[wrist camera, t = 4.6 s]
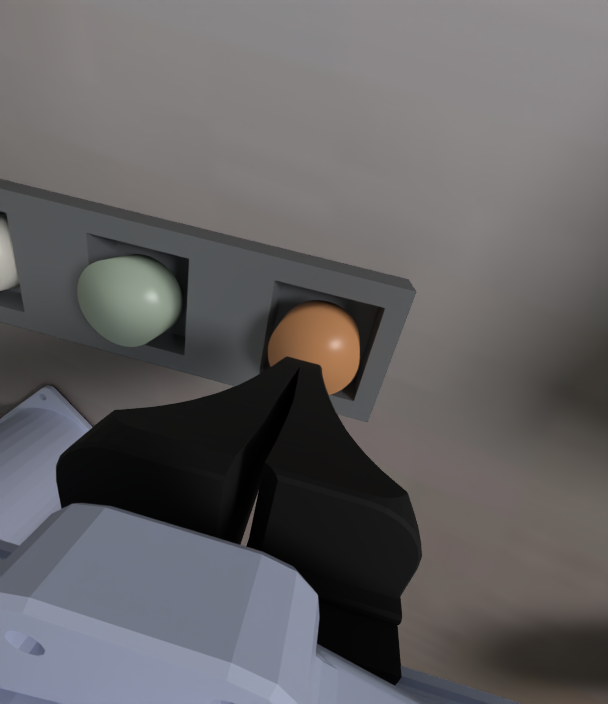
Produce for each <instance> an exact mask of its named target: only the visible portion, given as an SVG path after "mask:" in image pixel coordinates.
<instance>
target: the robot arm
mask: <svg viewBox="0 0 608 704" xmlns="http://www.w3.org/2000/svg"><path fill="white" fill-rule="evenodd" d="M258 490H259V492H258ZM257 493H258V497H257V502H256V507H255V512H254V517H253V522H252V527H251V531H250V536H249V540H248V543H247V546H246V547H245V546H242V545H240V544H241V541H242V538H243V535H244V532H245V529H246V526H247V523H248V520H249V517H250V514H251V511H252V508H253V505H254V502H255V499H256V496H257ZM421 558H422V551H421V540H420V535H419V529H418V525H417V521H416V518H415V514H414V511H413V508H412V505H411V502H410V498H409V495H408V493H407V492H406V491H405V490H404V489H403V488H402V487H401V486H399V485H398V484H397V483H396V482H395V481H393V480H392V479H391V478H390V477H389V476H388V475H386V474H385V473H384V472H383V471H382V470H381V469H380V468H379V467H378V466H377V465H376V464H375V463H374V462H373V461H372V460H371V459H370V458H369V457H368V456H367V455H366V454H365V453H364V452H363V451H362V450H361V448H360V447H359V446H358V445H357V443H356V442H355V441H354V440H353V438H352V437H351V436H350V435H349V433H348V432H347V430H346V429H345V427H344V426H343V424H342V422H341V421H340V419H339V417H338V415H337V413H336V411H335V409H334V407H333V405H332V402H331V400H330V398H329V395H328V392H327V389H326V386H325V383H324V379H323V374H322V368H321V366H320V365H318V364H315V363H311V362H307V361H303V360H299V359H295V358H292V357H288V356H287V357H285V358H283V359H281V360H280V361H279V362H277V363H276V364H274V365H273V366H271V367H270V368H268V369H267V370H265V371H263V372H262V373H260V374H258V375H257V376H255V377H253V378H251V379H249V380H247V381H245V382H243V383H242V384H239V385H237V386H235V387H232V388H230V389H227V390H224V391H222V392H219V393H216V394H212V395H209V396H205V397H202V398H198V399H194V400H190V401H186V402H181V403H175V404H169V405H163V406H156V407H146V408H135V409H124V410H114V411H113V412H111V413H110V414H109V415H107V416H106V417H105V418H104V419H102V420H101V421H100V422H98V423H97V424H96V425H95V426H94V427H92V426H91V425H90V424H89V423H88V422H87V421H86V420H85V419H84V418H83V417H82V415H81V414H80V413H79V412H78V411H77V410H76V409H75V408H74V407H73V406H72V405H71V404H70V403H69V402H68V401H67V400H66V399H65V398H64V397H63V396H62V395H61V394H60V393H59V392H58V391H57V390H56V389H55V388H54V387H53V386H50V385H47V386H45V387H43V388H41V389H40V390H39V391H37V392H36V393H35V394H33V395H32V396H31V397H29V398H28V399H26V400H25V401H24V402H22V403H21V404H20V405H18V406H17V407H16V408H14V409H13V410H11V411H10V412H9V413H7V414H6V415H5V416H3V417H2V418H1V419H0V704H522V703H519V702H515V701H512V700H509V699H506V698H503V697H500V696H496V695H493V694H490V693H487V692H484V691H480V690H477V689H474V688H471V687H468V686H465V685H461V684H458V683H455V682H452V681H449V680H445V679H442V678H439V677H436V676H433V675H430V674H426V673H423V672H420V671H417V670H414V669H410V668H407V667H404V666H401V662H400V650H399V639H398V627H397V625H399V624H400V623H401V620H402V610H401V599H400V596H401V595H402V593H403V591H404V590H405V588H406V586H407V585H408V583H409V582H410V580H411V578H412V577H413V575H414V573H415V572H416V570H417V569H418V566H419V563H420V560H421Z"/></svg>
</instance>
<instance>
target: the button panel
mask: <svg viewBox="0 0 608 704" xmlns="http://www.w3.org/2000/svg"><path fill="white" fill-rule="evenodd" d="M0 213H2V214H4V215H6V216H7V220H8V225H9V230H10V236H11V241H12V247H13V252H14V257H15V263H16V268H17V274H18V279H19V284H20V287H16V288H11V289H7V290H3V291H0V322H2V323H5V324H9V325H13V326H16V327H20V328H24V329H27V330H31V331H35V332H38V333H42V334H46V335H49V336H53V337H57V338H60V339H64V340H68V341H71V342H75V343H79V344H82V345H86V346H90V347H93V348H97V349H101V350H104V351H108V352H112V353H115V354H119V355H123V356H126V357H130V358H134V359H137V360H141V361H145V362H148V363H152V364H156V365H159V366H163V367H167V368H170V369H174V370H178V371H181V372H185V373H189V374H192V375H196V376H200V377H203V378H207V379H211V380H214V381H218V382H222V383H225V384H229V385H233V386H237V385H239V384H242V383H243V382H245V381H247V380H249V379H251V378H253V377H255V376H257V375H258V374H260V373H262V372H263V371H265V370H267V369H268V368H270V367H271V366H270V363H269V359H268V345H269V341H270V338H271V336H272V334H273V332H274V331H275V329H276V328H277V326H278V325H279V323H280V322H281V321H282V319H283V318H284V316H285V315H286V314H287V313H288V311H290V310H291V309H292V308H293V307H295V306H296V305H298V304H300V303H303V302H305V301H310V300H324V301H329V302H332V303H335V304H337V305H339V306H340V307H342V308H343V309H345V310H346V311H347V312H348V313H349V314H350V315H351V316H352V318H353V319H354V321H355V323H356V325H357V327H358V330H359V336H360V359H359V366H358V370H357V372H356V374H355V376H354V378H353V379H352V380H351V382H350V383H349V384H348V385H347V386H346V387H344V388H343V389H342V390H340V391H338V392H336V393H334V394H331V395H329V398H330V400H331V402H332V405H333V407H334V409H335V411H336V413H337V414H339V415H343V416H346V417H350V418H354V419H357V420H361V421H365V422H368V420H369V417H370V414H371V412H372V409H373V406H374V404H375V401H376V398H377V396H378V393H379V390H380V388H381V385H382V382H383V380H384V377H385V374H386V372H387V369H388V366H389V364H390V361H391V358H392V355H393V353H394V350H395V347H396V345H397V342H398V339H399V337H400V334H401V331H402V329H403V326H404V323H405V321H406V318H407V315H408V313H409V310H410V307H411V305H412V302H413V299H414V297H415V294H416V290H415V289H414V287H413V286H412V284H411V283H410V281H409V280H408V279H405V278H400V277H396V276H392V275H388V274H384V273H380V272H376V271H372V270H368V269H364V268H360V267H356V266H352V265H348V264H344V263H339V262H335V261H331V260H327V259H323V258H319V257H315V256H311V255H307V254H303V253H299V252H295V251H291V250H287V249H283V248H279V247H274V246H270V245H266V244H262V243H258V242H254V241H250V240H246V239H242V238H238V237H234V236H230V235H226V234H222V233H218V232H213V231H209V230H205V229H201V228H197V227H193V226H189V225H185V224H181V223H177V222H173V221H169V220H165V219H161V218H157V217H153V216H148V215H144V214H140V213H136V212H132V211H128V210H124V209H120V208H116V207H112V206H108V205H104V204H100V203H96V202H92V201H87V200H83V199H79V198H75V197H71V196H67V195H63V194H59V193H55V192H51V191H47V190H43V189H39V188H35V187H31V186H27V185H22V184H18V183H14V182H10V181H6V180H2V179H0ZM129 254H143V255H147V256H150V257H152V258H155V259H156V260H158V261H160V262H161V263H162V264H164V265H165V266H166V267H167V268H168V269H169V270H170V271H171V272H172V274H173V275H174V277H175V278H176V280H177V282H178V284H179V286H180V288H181V292H182V296H183V310H182V313H181V316H180V318H179V320H178V321H177V323H176V324H175V325H174V326H172V327H171V328H170V329H168V330H166V331H165V332H163V333H162V334H160V335H159V336H157V337H156V338H154V339H152V340H151V341H149V342H148V343H146V344H144V345H141V346H137V347H126V346H121V345H118V344H115V343H113V342H111V341H109V340H107V339H105V338H104V337H103V336H101V335H100V334H99V333H98V332H97V331H96V330H95V329H94V328H93V327H92V326H91V325H90V324H89V322H88V321H87V319H86V318H85V316H84V314H83V312H82V310H81V308H80V305H79V301H78V295H77V286H78V281H79V278H80V275H81V274H82V272H83V271H84V269H85V268H86V267H88V266H89V265H90V264H92V263H94V262H97V261H101V260H106V259H110V258H115V257H120V256H125V255H129Z"/></svg>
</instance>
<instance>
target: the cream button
mask: <svg viewBox="0 0 608 704" xmlns="http://www.w3.org/2000/svg"><path fill="white" fill-rule="evenodd" d="M16 287H20V284H19V279H18V274H17V268H16V263H15V257H14V252H13V247H12V241H11V236H10V230H9V225H8V220H7V216H6V215H4V214H2V213H0V291H3V290H7V289H11V288H16Z"/></svg>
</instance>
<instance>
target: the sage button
mask: <svg viewBox="0 0 608 704" xmlns="http://www.w3.org/2000/svg"><path fill="white" fill-rule="evenodd" d="M77 295H78V301H79V305H80V308H81V310H82V312H83V314H84V316H85V318H86V319H87V321H88V322H89V324H90V325H91V326H92V327H93V328H94V329H95V330H96V331H97V332H98V333H99V334H100V335H101V336H103V337H104V338H105V339H107V340H109V341H111V342H113V343H115V344H118V345H121V346H126V347H137V346H141V345H144V344H146V343H148V342H149V341H151V340H152V339H154V338H156V337H157V336H159V335H160V334H162V333H163V332H165V331H166V330H168V329H170V328H171V327H172V326H174V325H175V324H176V323H177V321H178V320H179V318H180V316H181V313H182V310H183V296H182V292H181V288H180V286H179V284H178V282H177V280H176V278H175V277H174V275H173V274H172V272H171V271H170V270H169V269H168V268H167V267H166V266H165V265H164V264H162V263H161V262H160V261H158V260H156V259H155V258H152V257H150V256H147V255H143V254H129V255H125V256H120V257H115V258H110V259H106V260H101V261H97V262H94V263H92V264H90V265H89V266H88V267H86V268H85V269H84V271H83V272H82V274H81V275H80V278H79V281H78V286H77Z"/></svg>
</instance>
